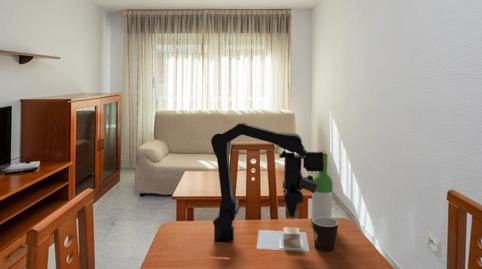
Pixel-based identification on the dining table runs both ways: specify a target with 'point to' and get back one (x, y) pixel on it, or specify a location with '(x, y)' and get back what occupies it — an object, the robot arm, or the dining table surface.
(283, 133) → the robot arm
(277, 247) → the build board
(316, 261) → the dining table surface
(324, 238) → the coffee mug
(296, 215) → the walnut cube
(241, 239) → the dining table surface
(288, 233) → the beech block
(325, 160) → the wine bottle
